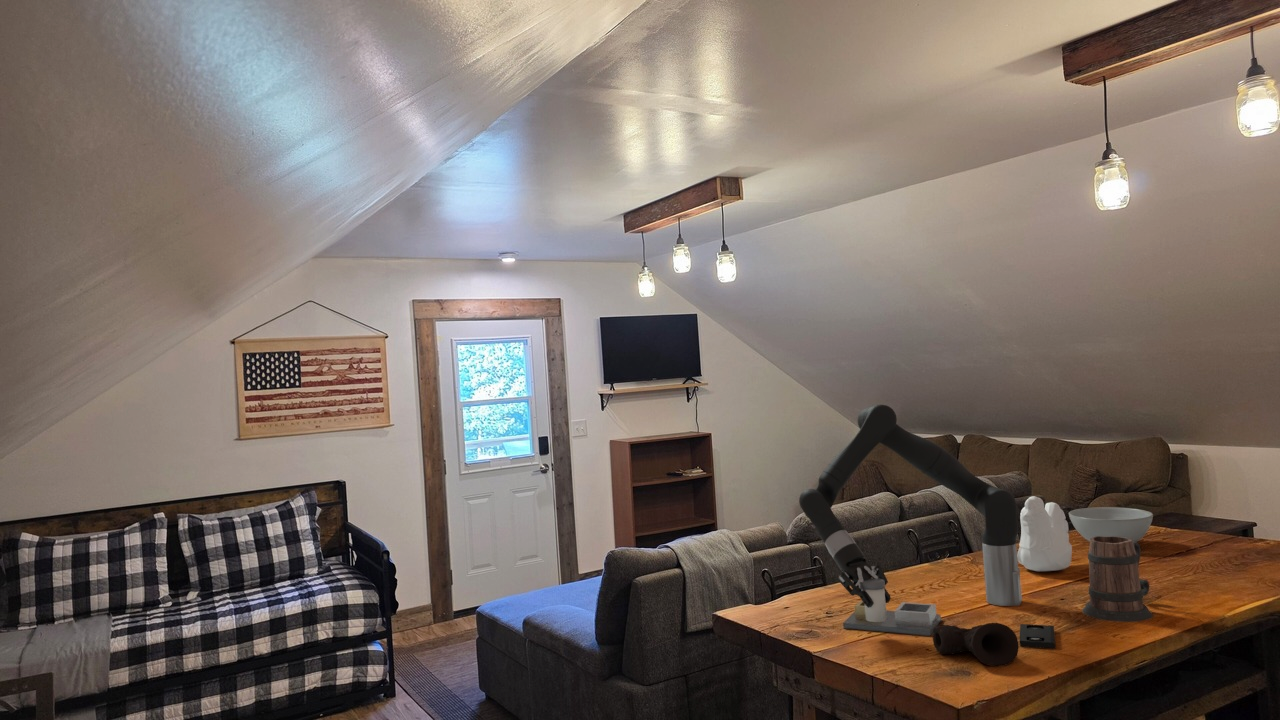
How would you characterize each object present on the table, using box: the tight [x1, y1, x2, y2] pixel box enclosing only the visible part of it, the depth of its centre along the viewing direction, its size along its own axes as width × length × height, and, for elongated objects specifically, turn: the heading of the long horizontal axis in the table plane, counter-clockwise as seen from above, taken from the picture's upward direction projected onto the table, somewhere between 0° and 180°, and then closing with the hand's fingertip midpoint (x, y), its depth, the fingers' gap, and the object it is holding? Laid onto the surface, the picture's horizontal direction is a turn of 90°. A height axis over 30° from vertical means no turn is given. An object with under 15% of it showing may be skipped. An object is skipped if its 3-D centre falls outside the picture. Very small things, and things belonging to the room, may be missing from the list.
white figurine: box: [1017, 495, 1073, 572], centre depth 280 cm, size 25×16×25 cm, turn 116°
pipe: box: [932, 622, 1020, 667], centre depth 203 cm, size 10×15×15 cm
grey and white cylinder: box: [862, 578, 887, 622], centre depth 221 cm, size 6×6×10 cm
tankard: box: [1081, 536, 1154, 623], centre depth 231 cm, size 24×17×20 cm
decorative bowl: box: [1068, 506, 1154, 543], centre depth 306 cm, size 27×27×12 cm
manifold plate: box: [842, 600, 942, 637], centre depth 232 cm, size 23×15×5 cm, turn 60°
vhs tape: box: [1019, 623, 1057, 650], centre depth 212 cm, size 14×8×2 cm, turn 155°
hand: (879, 603), depth 220 cm, fingers closed on grey and white cylinder, 5 cm apart
